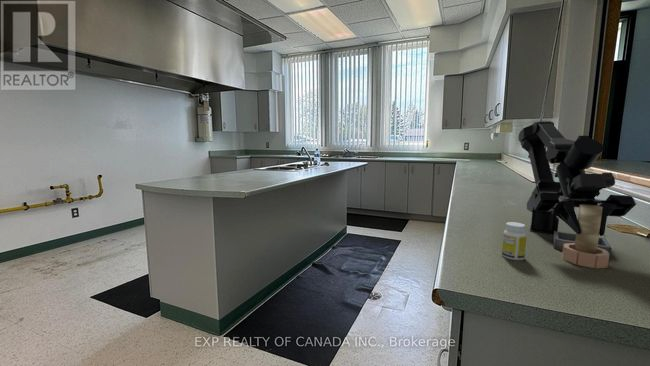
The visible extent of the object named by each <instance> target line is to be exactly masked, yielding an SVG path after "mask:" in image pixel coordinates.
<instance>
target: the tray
mask: <svg viewBox="0 0 650 366" xmlns="http://www.w3.org/2000/svg"><path fill="white" fill-rule="evenodd" d="M575 239H576V233H570V232H563V231H559V230H558V231H554V234H553V237H552V243H553V248H554V249H557V250H562V251H563V245H564V244H566V243H575ZM597 247H598V248H601V249H604V250H606V251H608V253H609V258H611V256H612V249H613V248H612V246H611V245H610V243H609V242H608V240H607V238H606V237H602V236H599V238H598V246H597Z"/></svg>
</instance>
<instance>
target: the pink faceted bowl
mask: <svg viewBox="0 0 650 366" xmlns="http://www.w3.org/2000/svg"><path fill="white" fill-rule="evenodd" d="M574 247H575V243H566V244H564V245H563V250H562V254H561V256H562V260H564V261H566V262H569V263H570V264H573V265H576V266H581V267H584V268H585V267H586V268H592V269H604V268H606V269H607V268H609V261H610V260H609V259H610V257H609V253H608V251H606V250H604V249H601V248H598V247H597V253H596V254H591V253H585V252H580V251H577V250H574Z"/></svg>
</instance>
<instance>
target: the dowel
mask: <svg viewBox="0 0 650 366" xmlns="http://www.w3.org/2000/svg"><path fill="white" fill-rule="evenodd" d="M578 208H579V209H578V215H577V219H578V222H579V225H580V228H581V233H580V234H577V233H576V232H575V234H576V239H575V247H574V250H577V251H580V252H585V253H591V254H596V253H597V246H598V238H599V237H600V235H599V231H600V224H601V216H602V209H603V207H601V206H597V205H589V204H580V207H578Z"/></svg>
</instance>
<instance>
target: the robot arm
mask: <svg viewBox="0 0 650 366" xmlns="http://www.w3.org/2000/svg"><path fill="white" fill-rule="evenodd" d="M517 138H518V142H519V143H520V145H521V148H522V149H524V150H525V151H526V152H527V153H528V155H529V159H530V165H531V169H532V174H533V178H534V182H535V187H534V188H533V190H532V192H531V195H530V197H529V198H528V200H527V202H526V209H527V210H528V211H529V212H531V219H530V220H531V222H530V227H529V231H531V232H536V233H542V234H543V233H545V234H549V235H550V234H551V235H554V231H558V232H559V223H560V220H561V221H562V222H564V223H565V224H566V225H567V226H569V228H571V230H572V231H573V232H574V233H575V234H576V233H577V234H580V233H581V228H580V225H579V222H578V215H577V214H576V211H575V208H579V207H580V204H589V205H597V206H601V207H603V209H602V216H601V224H600V231H599V237H603V236H604V235H605V233H606V232H605V231H606V226H607V219H608V217H617V218H618V217H619V218H621V217H624V216H626V215H627V214H628V213H629V212H630V211H631V210H632V209H633V208H634V207H636V205H637V202H636V200H635V198H634V197H633V196H631V195H629V194H610V195H609V196H608V197H607V198H606V199H603V200H602V199H598V198H597V199H596V197H599V196H600V195H601V190H606V189H608V188H611V187H614V186H615V184H616V178H615V176H614V175H613V173H612V172H602V173H586V170H587V169H591V168H592V166H593V164H595V162H596V160H598V158H599V157H600V155H601V154H602V153H603V152H604V150H605V147H604V144H602V143H601V142H600V141H598V140H596V139H594V138H593V139H592V138H590V136H589V135H578V136H577V139H576V140H571V139H569V138H565V137H564V135H563V134H562V133H561V132H560V131H559V130H558V128H557V127H556V125H555V122H554V121H550V120H546V121H545V120H543V121H542V120H541V121H539V120H538V121H535V122H534V123H533V124H530V125H528V126H525V127H523V128H522V129H521V130H520V131H519V133H518V137H517ZM550 164H551V165H552V164H555V165H556V164H558V165H557V166H556V167H555V171H556V172H554V176H553V172H552V169H551V166H550ZM554 178H557V179H558V181H555V179H554Z"/></svg>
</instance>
